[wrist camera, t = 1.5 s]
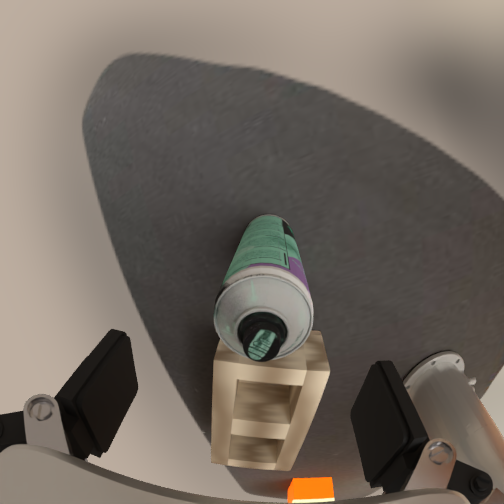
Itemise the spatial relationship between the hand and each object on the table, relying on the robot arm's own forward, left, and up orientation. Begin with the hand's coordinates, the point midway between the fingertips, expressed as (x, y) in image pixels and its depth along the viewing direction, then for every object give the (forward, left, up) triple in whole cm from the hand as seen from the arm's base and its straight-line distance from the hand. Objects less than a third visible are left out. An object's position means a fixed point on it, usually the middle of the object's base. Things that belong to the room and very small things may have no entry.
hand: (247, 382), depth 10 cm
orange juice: (-17, +55, -23) cm, 62 cm away
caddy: (-2, +22, -23) cm, 32 cm away
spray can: (0, 0, -23) cm, 23 cm away
